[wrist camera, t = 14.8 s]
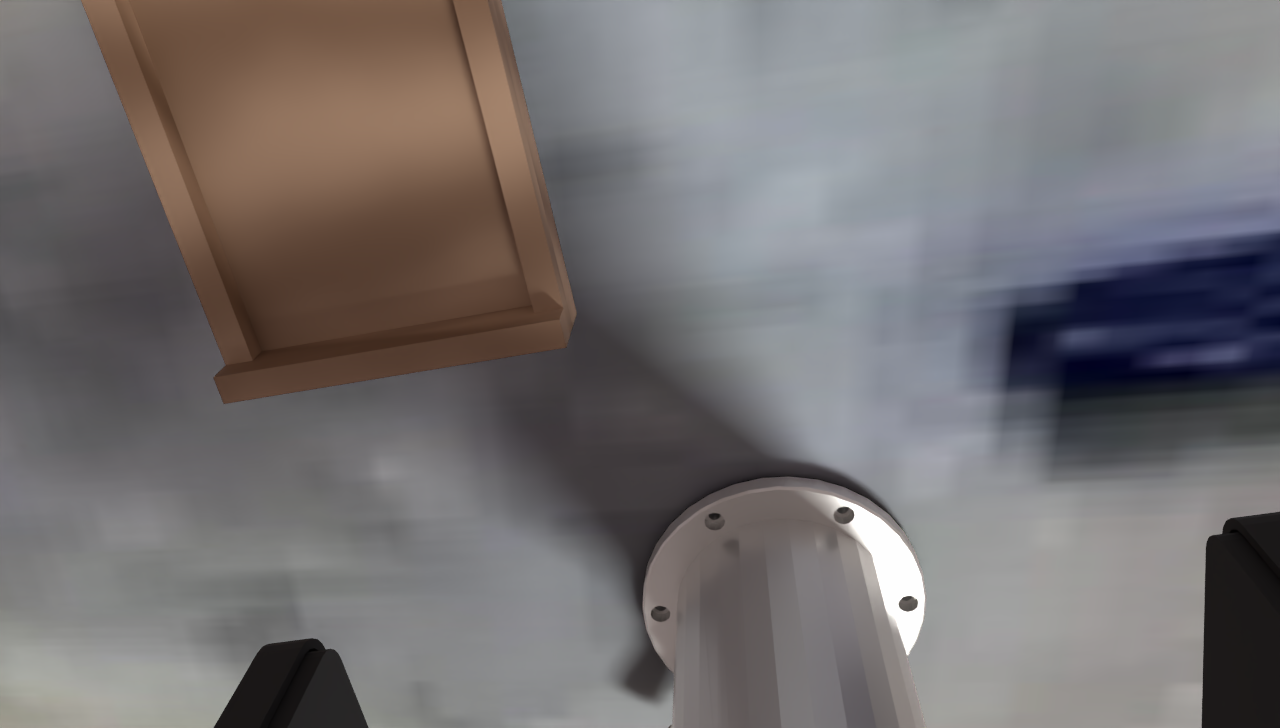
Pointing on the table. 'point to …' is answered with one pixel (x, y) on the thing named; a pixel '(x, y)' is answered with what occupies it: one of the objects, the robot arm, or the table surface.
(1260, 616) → the robot arm
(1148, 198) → the table surface
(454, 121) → the beam
